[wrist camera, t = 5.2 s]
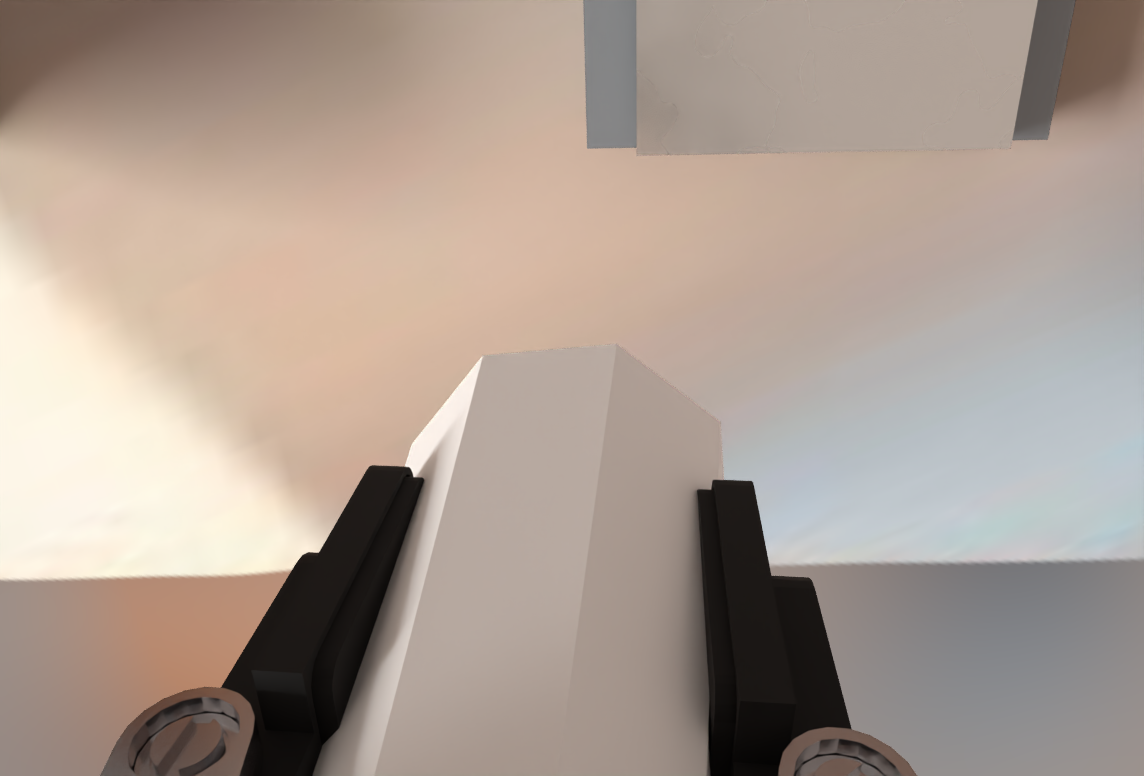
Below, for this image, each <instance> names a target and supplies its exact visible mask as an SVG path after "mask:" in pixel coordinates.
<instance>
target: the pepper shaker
mask: <svg viewBox="0 0 1144 776" xmlns="http://www.w3.org/2000/svg"><path fill="white" fill-rule="evenodd" d="M405 467H409V468H411V470H412V473H413V477H422V478H424V483H423V486H422V488H421V491H420V494H419V497H418V500H417V503H416V506H415V509H414V512H413V515H412V517H411V520H410V523H409V526H408V529H407V532H406V535H405V538H404V541H403V544H402V547H401V549H400V552H399V555H398V558H397V561H396V564H395V567H394V570H393V573H392V576H391V578H390V581H389V584H388V587H387V590H386V593H385V596H384V599H383V602H382V605H381V608H380V610H379V613H378V616H377V619H376V622H375V625H374V628H373V631H372V634H371V637H370V639H369V642H368V645H367V648H366V651H365V654H364V657H363V660H362V663H361V666H360V669H359V671H358V674H357V677H356V680H355V683H354V686H353V689H352V692H351V695H350V698H349V701H348V703H347V706H346V709H345V712H344V715H343V718H342V721H341V724H340V727H339V729H338V730H337V731H336V732H335V733H334V734H333V735H332V736H331V737H330V738H329V739H328V740H327V741H326V742H325V743H324V744H323V745H322V749H321V752H320V754H319V757H318V760H317V763H316V766H315V769H314V772H313V776H711V775H710V697H709V680H708V664H707V647H706V630H705V613H704V596H703V580H702V563H701V546H700V529H699V512H698V495H697V490H698V489H707V490H711V486H712V481H713V480H724V471H723V455H722V438H721V422H720V421H719V420H718V419H716V418H715V417H714V416H712V415H711V414H710V413H708V412H707V411H706V410H704V409H703V408H702V407H700V406H699V405H698V404H696V403H695V402H694V401H692V400H691V399H690V398H688V397H687V396H686V395H684V394H683V393H682V392H680V391H679V390H678V389H676V388H675V387H674V386H672V385H671V384H670V383H668V382H667V381H666V380H664V379H663V378H662V377H660V376H659V375H658V374H656V373H655V372H654V371H652V370H651V369H650V368H648V367H647V366H646V365H644V364H643V363H642V362H640V361H639V360H638V359H636V358H635V357H634V356H632V355H631V354H630V353H628V352H627V351H626V350H624V349H623V348H622V347H620V346H619V345H618V344H608V345H597V346H585V347H574V348H562V349H551V350H539V351H528V352H516V353H505V354H493V355H483V356H482V357H481V358H480V360H479V361H478V362H477V363H476V365H475V366H474V367H473V368H472V370H471V371H470V372H469V373H468V375H467V376H466V377H465V378H464V380H463V381H462V382H461V383H460V385H459V386H458V387H457V388H456V390H455V391H454V392H453V393H452V395H451V396H450V397H449V398H448V400H447V401H446V402H445V403H444V405H443V406H442V407H441V408H440V410H439V411H438V412H437V413H436V415H435V416H434V417H433V418H432V420H431V421H430V422H429V423H428V425H427V426H426V427H425V428H424V430H423V431H422V432H421V433H420V435H419V436H418V437H417V438H416V440H415V441H414V442H413V443H412V445H411V448H410V452H409V455H408V458H407V462H406V465H405Z"/></svg>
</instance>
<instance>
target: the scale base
mask: <svg viewBox="0 0 1144 776" xmlns="http://www.w3.org/2000/svg"><path fill="white" fill-rule="evenodd" d="M1075 1H1076V0H1038V2H1037V7H1036V13H1035V18H1034V24H1033V29H1032V35H1031V40H1030V46H1029V51H1028V57H1027V62H1026V68H1025V73H1024V78H1023V84H1022V89H1021V95H1020V100H1019V106H1018V111H1017V117H1016V122H1015V128H1014V133H1013V139H1012V140H1048V135H1049V130H1050V125H1051V120H1052V115H1053V110H1054V106H1055V101H1056V96H1057V91H1058V86H1059V81H1060V76H1061V71H1062V66H1063V61H1064V56H1065V51H1066V46H1067V41H1068V36H1069V31H1070V26H1071V21H1072V16H1073V11H1074V6H1075ZM583 3H584V42H585V81H586V119H587V149H588V148H637V70H636V0H583Z"/></svg>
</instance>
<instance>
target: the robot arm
mask: <svg viewBox="0 0 1144 776" xmlns="http://www.w3.org/2000/svg"><path fill="white" fill-rule="evenodd" d="M423 483H424V478H422V477H413V473H412V470H411V468H409V467H399V466H375V465H373V466H370V467H369V468H368V469H367V471H366V472H365V474H364V476H363V478H362V479H361V481H360V483H359V485H358V486H357V488H356V490H355V491H354V493H353V495H352V497H351V498H350V500H349V502H348V504H347V505H346V507H345V509H344V510H343V512H342V514H341V516H340V517H339V519H338V521H337V523H336V524H335V526H334V528H333V530H332V531H331V533H330V535H329V536H328V538H327V540H326V542H325V543H324V545H323V547H322V549H321V550H320V552H319V553H312V552H308V553H306V554H304V555H302V557H301V558H300V559H299V560H298V562H297V563H296V565H295V566H294V568H293V570H292V571H291V573H290V574H289V576H288V578H287V579H286V581H285V583H284V584H283V586H282V588H281V589H280V591H279V593H278V594H277V596H276V598H275V599H274V601H273V603H272V604H271V606H270V607H269V609H268V611H267V612H266V614H265V616H264V617H263V619H262V621H261V622H260V624H259V626H258V627H257V629H256V631H255V632H254V634H253V636H252V637H251V639H250V641H249V642H248V644H247V645H246V647H245V649H244V650H243V652H242V654H241V655H240V657H239V659H238V660H237V662H236V664H235V666H234V667H233V669H232V670H231V672H230V674H229V675H228V677H227V679H226V680H225V682H224V683H223V685H222V687H221V688H216V687H203V688H197V689H191V690H185V691H183V692H180V693H177V694H175V695H172V696H170V697H167V698H164V699H162V700H161V701H159V702H158V703H156V704H154V705H153V706H151V707H150V708H148V709H146V710H144V711H143V712H142V713H141V714H140V715H139V716H138V717H137V718H136V719H135V720H134V721H132V722H131V723H130V724H129V725H128V726H127V728H126V729H125V731H124V732H123V734H122V735H121V736H120V738H119V739H118V741H117V742H116V745H115V746H114V748H113V750H112V752H111V755H110V757H109V759H108V761H107V763H106V765H105V767H104V769H103V771H102V773H101V775H100V776H313V772H314V769H315V766H316V763H317V760H318V757H319V754H320V752H321V749H322V745H323V744H324V743H325V742H326V741H327V740H328V739H329V738H330V737H331V736H332V735H333V734H334V733H335V732H336V731H337V730H338V729H339V727H340V724H341V721H342V718H343V715H344V712H345V709H346V706H347V703H348V701H349V698H350V695H351V692H352V689H353V686H354V683H355V680H356V677H357V674H358V671H359V669H360V666H361V663H362V660H363V657H364V654H365V651H366V648H367V645H368V642H369V639H370V637H371V634H372V631H373V628H374V625H375V622H376V619H377V616H378V613H379V610H380V608H381V605H382V602H383V599H384V596H385V593H386V590H387V587H388V584H389V581H390V578H391V576H392V573H393V570H394V567H395V564H396V561H397V558H398V555H399V552H400V549H401V547H402V544H403V541H404V538H405V535H406V532H407V529H408V526H409V523H410V520H411V517H412V515H413V512H414V509H415V506H416V503H417V500H418V497H419V494H420V491H421V488H422V486H423ZM697 495H698V512H699V529H700V546H701V563H702V580H703V596H704V613H705V630H706V647H707V664H708V680H709V697H710V775H711V776H917V775H916V773H915V772H914V771H913V769H912V768H911V766H910V765H909V763H908V762H907V761H906V760H905V759H904V758H903V757H901V756H900V755H899V754H898V753H897V752H896V751H895V750H894V749H892V748H891V747H890V746H888V745H886V744H885V743H883V742H881V741H879V740H878V739H876V738H874V737H872V736H870V735H868V734H864V733H861V732H858V731H855V730H852V729H851V725H850V721H849V718H848V714H847V710H846V706H845V702H844V698H843V695H842V691H841V687H840V683H839V679H838V675H837V672H836V668H835V664H834V661H833V656H832V653H831V649H830V645H829V641H828V638H827V633H826V630H825V626H824V622H823V618H822V614H821V610H820V606H819V603H818V599H817V595H816V591H815V588H814V586H813V582H812V580H811V579H810V578H804V577H785V576H771V572H770V567H769V561H768V556H767V551H766V546H765V541H764V536H763V530H762V525H761V520H760V515H759V510H758V505H757V500H756V494H755V489H754V485H753V482H752V481H736V480H713V481H712V486H711V490H707V489H698V490H697Z"/></svg>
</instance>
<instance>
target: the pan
mask: <svg viewBox="0 0 1144 776" xmlns="http://www.w3.org/2000/svg"><path fill="white" fill-rule="evenodd" d="M1037 2H1038V0H636V70H637V156H647V155H701V154H755V153H809V152H863V151H917V150H971V149H1011V144H1012V139H1013V133H1014V128H1015V122H1016V117H1017V111H1018V106H1019V100H1020V95H1021V89H1022V84H1023V78H1024V73H1025V68H1026V62H1027V57H1028V51H1029V46H1030V40H1031V35H1032V29H1033V24H1034V18H1035V13H1036V7H1037Z"/></svg>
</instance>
